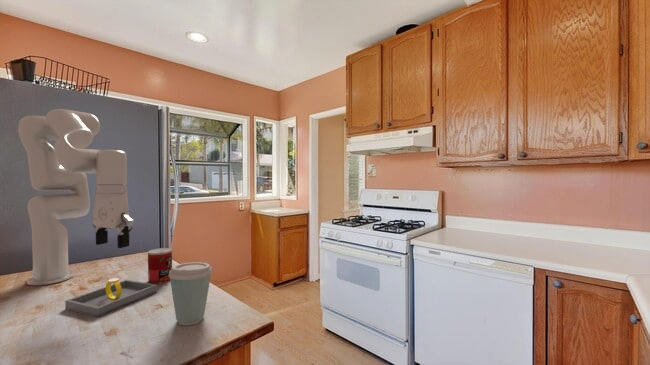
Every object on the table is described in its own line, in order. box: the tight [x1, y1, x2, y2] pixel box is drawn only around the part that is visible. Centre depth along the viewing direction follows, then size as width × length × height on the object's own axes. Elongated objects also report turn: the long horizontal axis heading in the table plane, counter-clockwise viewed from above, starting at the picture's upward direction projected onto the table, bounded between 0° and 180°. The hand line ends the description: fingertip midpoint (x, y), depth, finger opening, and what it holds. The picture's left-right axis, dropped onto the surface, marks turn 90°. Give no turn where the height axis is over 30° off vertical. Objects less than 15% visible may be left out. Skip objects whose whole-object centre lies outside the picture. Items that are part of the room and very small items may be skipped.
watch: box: [105, 277, 122, 300], centre depth 89 cm, size 6×3×6 cm, turn 66°
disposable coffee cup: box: [169, 261, 213, 326], centre depth 77 cm, size 11×11×15 cm
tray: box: [64, 279, 158, 318], centre depth 90 cm, size 14×18×2 cm
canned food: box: [147, 247, 173, 284], centre depth 107 cm, size 8×8×11 cm
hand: (112, 245), depth 89 cm, fingers open, 9 cm apart
